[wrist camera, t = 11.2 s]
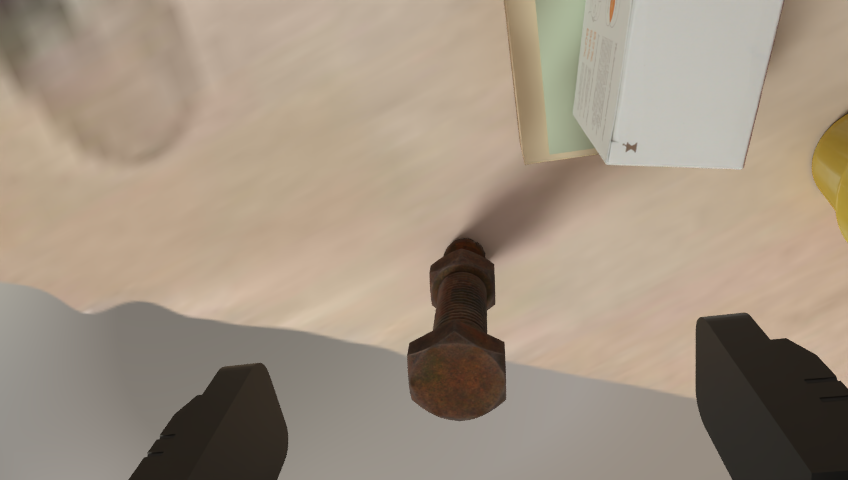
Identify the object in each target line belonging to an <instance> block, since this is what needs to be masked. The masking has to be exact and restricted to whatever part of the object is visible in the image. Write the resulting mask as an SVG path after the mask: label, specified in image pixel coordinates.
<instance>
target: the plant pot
mask: <svg viewBox="0 0 848 480" xmlns="http://www.w3.org/2000/svg"><path fill="white" fill-rule="evenodd" d="M812 174H813V178H814V181H815V183H816V185H817V187H818V188H819V190H820V191H821V192H822V194H823V195H824V196H825V198H826V199H827V200H828V202H829V203H830V204H831V205H832V207H833V208H834V209H835V211H836V217H837V222H838V225H839V228H840V230H841V233H842V235H843V236H844V238H845V240H846V241H847V242H848V114H847V115H845V116H843V117H842V118H840V119H839V120H838V121H836V122H835V123H834V124H833V125H832V126H831V127H830V128H829V129H828V130H827V131H826V132H825V134H824V135H823V136H822V138H821V139H820V141H819V142H818V144H817V146H816V149H815V151H814V155H813V159H812Z"/></svg>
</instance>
